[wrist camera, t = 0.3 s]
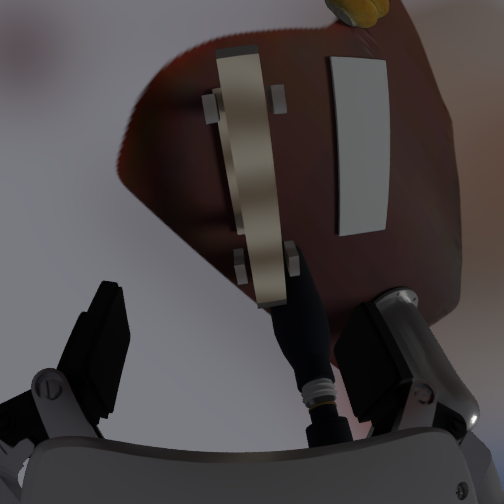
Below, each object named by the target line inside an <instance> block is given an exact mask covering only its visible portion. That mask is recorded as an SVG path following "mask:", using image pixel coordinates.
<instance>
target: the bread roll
mask: <svg viewBox="0 0 504 504" xmlns="http://www.w3.org/2000/svg"><path fill="white" fill-rule="evenodd" d="M325 3H326V5H327V7H328V8H329V9H330V10H331V11H332V12H333V13H334V14H335V15H336V16H337V17H338V18H339V19H341V20H342V21H343V22H344V23H346V24H347V25H349V26H355V27H360V28H368V27H371V26H373V25H375V23H376V22H377V18H380V17H383V16H385V15H386V14H387V13H388V10H389V0H325Z"/></svg>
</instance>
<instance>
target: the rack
mask: <svg viewBox="0 0 504 504" xmlns="http://www.w3.org/2000/svg"><path fill="white" fill-rule="evenodd" d="M266 89H267V96H268V104H269V111H270V112H271V113H273V114H280V113H287V109H286V100H285V92H284V85H272V86H267V87H266ZM212 91H213V94H208V95H203V96H202V102H203V108H204V113H205V119H206V124H210V123H215V122H218V126H219V132H220V138H221V144H222V149H223V155H224V161H225V167H226V172H227V178H228V183H229V189H230V195H231V200H232V206H233V211H234V217H235V222H236V228H237V233H238V235H240V234H245V229H244V223H243V217H242V211H241V205H240V199H239V193H238V187H237V181H236V175H235V169H234V163H233V157H232V151H231V145H230V139H229V133H228V127H227V121H226V115H225V108H224V102H223V96H222V90H221V88H216V89H212ZM284 250H285V261H286V264H287V267H288V271H289V274H290V277H291V276H297V275H300V268H299V255H298V252H297V249H296V247H295V244H294V242H293V241H287V242H284ZM234 267H235V272H236V277H237V282H238V285H240V284H246V283H248V280H247V270H246V263H245V257H244V251H243V248H241V249H234Z"/></svg>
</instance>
